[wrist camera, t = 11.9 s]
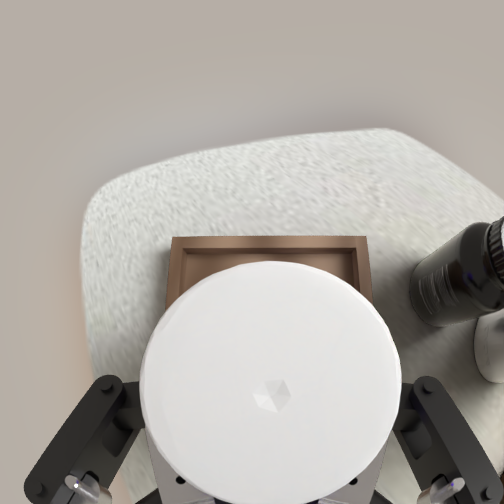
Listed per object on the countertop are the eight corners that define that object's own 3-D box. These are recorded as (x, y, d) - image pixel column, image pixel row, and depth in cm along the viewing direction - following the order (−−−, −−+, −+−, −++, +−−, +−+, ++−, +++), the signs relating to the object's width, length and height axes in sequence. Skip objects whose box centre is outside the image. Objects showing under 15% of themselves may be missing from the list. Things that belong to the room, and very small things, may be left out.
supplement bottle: (456, 334, 21) (547, 312, 10) (401, 318, 22) (488, 287, 11) (464, 268, 23) (542, 220, 12) (412, 248, 24) (484, 183, 13)
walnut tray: (357, 246, 25) (366, 236, 22) (360, 456, 18) (368, 465, 16) (180, 247, 26) (172, 236, 23) (173, 455, 19) (164, 464, 17)
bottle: (222, 320, 21) (88, 207, 5) (297, 308, 21) (386, 159, 5) (236, 413, 19) (144, 567, 2) (313, 401, 19) (446, 521, 2)
